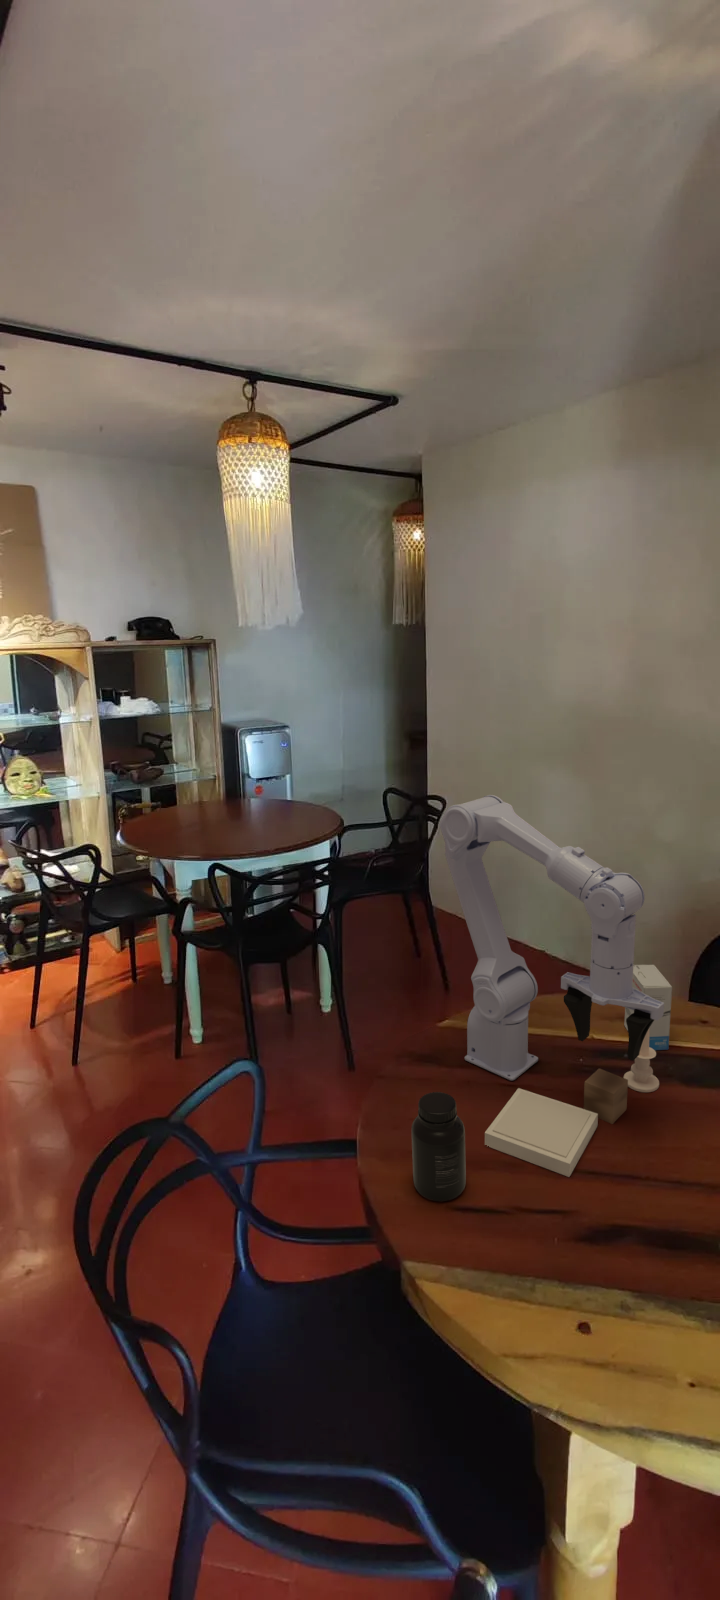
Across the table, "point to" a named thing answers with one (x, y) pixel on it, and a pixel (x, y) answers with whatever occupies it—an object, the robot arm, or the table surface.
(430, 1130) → the supplement bottle
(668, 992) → the ink box
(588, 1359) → the table surface
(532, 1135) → the plate
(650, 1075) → the candle
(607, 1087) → the block
